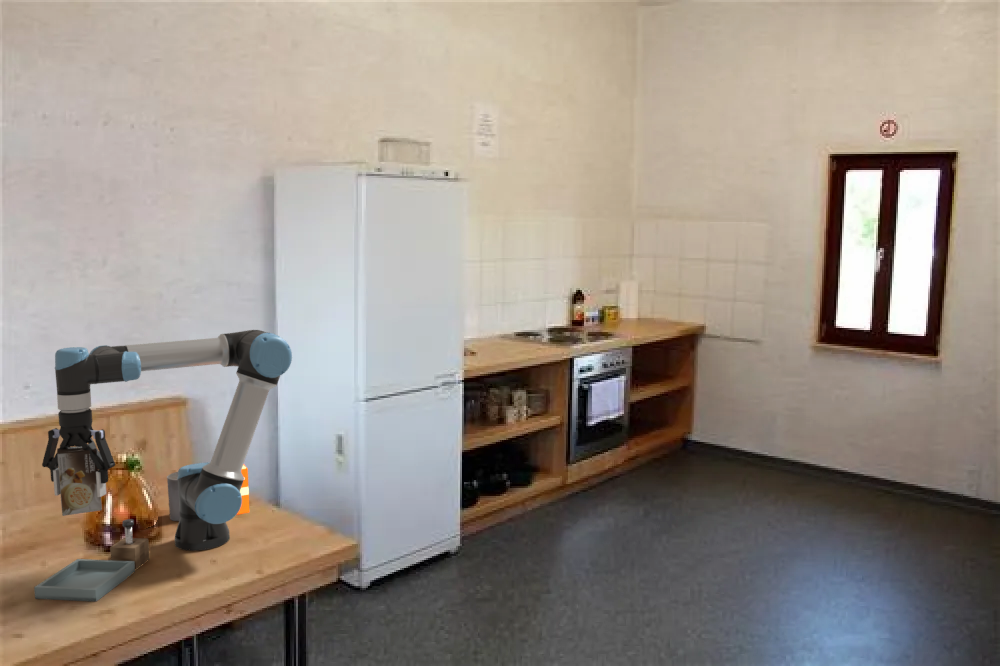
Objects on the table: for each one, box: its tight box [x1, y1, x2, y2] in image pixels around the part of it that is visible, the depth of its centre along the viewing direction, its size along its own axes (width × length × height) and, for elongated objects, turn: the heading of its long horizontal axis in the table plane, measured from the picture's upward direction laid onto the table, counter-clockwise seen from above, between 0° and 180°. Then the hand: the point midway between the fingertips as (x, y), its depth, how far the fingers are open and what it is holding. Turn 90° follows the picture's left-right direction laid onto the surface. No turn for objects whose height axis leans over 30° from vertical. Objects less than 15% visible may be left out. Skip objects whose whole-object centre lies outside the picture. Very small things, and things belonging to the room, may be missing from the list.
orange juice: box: [236, 463, 250, 516], centre depth 274 cm, size 8×9×20 cm
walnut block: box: [109, 537, 150, 570], centre depth 232 cm, size 7×7×6 cm
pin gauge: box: [122, 518, 135, 545], centre depth 231 cm, size 3×3×12 cm
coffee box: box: [56, 444, 103, 517], centre depth 215 cm, size 9×6×16 cm
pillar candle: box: [166, 471, 180, 522], centre depth 269 cm, size 10×10×15 cm
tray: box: [33, 558, 136, 602], centre depth 218 cm, size 16×18×3 cm
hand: (80, 494), depth 216 cm, fingers closed on coffee box, 11 cm apart
